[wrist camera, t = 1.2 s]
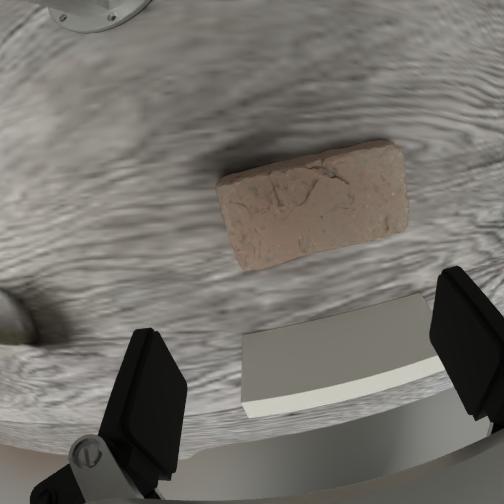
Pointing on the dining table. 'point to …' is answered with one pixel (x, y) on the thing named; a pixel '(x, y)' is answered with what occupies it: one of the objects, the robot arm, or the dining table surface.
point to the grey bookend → (337, 357)
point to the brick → (314, 203)
